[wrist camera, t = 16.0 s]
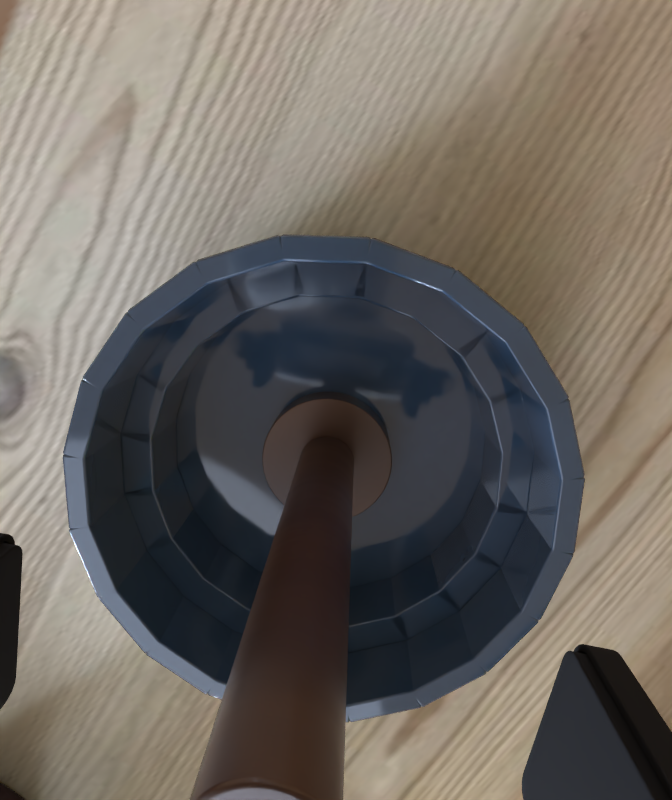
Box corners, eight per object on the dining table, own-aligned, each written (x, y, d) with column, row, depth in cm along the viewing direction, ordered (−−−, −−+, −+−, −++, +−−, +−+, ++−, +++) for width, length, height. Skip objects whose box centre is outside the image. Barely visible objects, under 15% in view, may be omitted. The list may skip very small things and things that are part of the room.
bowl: (63, 391, 22) (-42, 434, 16) (385, 158, 20) (396, 110, 14) (284, 669, 25) (261, 793, 19) (594, 494, 22) (676, 574, 16)
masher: (243, 434, 22) (-13, 797, 7) (345, 367, 21) (308, 608, 6) (313, 529, 22) (221, 1039, 8) (413, 468, 22) (531, 902, 7)
